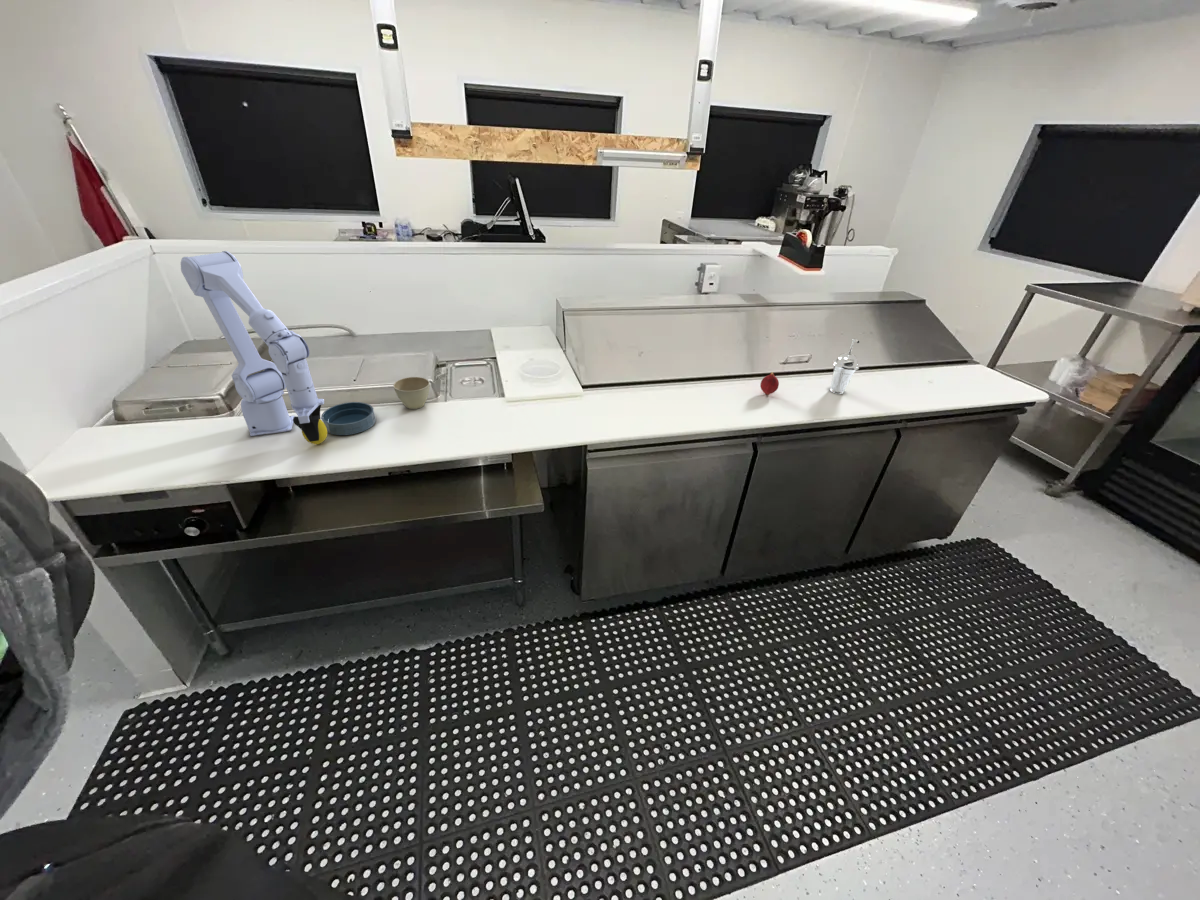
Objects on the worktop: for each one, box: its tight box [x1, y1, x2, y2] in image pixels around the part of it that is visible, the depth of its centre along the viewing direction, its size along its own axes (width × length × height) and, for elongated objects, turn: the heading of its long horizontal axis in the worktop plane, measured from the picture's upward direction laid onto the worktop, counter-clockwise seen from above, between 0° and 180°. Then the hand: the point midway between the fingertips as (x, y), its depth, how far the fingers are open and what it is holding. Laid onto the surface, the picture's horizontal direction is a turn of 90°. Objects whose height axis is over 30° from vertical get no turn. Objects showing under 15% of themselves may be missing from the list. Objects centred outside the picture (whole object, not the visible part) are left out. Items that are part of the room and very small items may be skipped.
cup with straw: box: [829, 338, 860, 395], centre depth 164 cm, size 8×9×20 cm
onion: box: [759, 371, 780, 396], centre depth 162 cm, size 6×6×8 cm
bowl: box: [320, 401, 377, 436], centre depth 134 cm, size 13×13×4 cm
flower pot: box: [392, 376, 431, 410], centre depth 144 cm, size 10×10×7 cm
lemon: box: [301, 418, 328, 446], centre depth 124 cm, size 6×6×8 cm
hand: (315, 434), depth 124 cm, fingers closed on lemon, 5 cm apart
